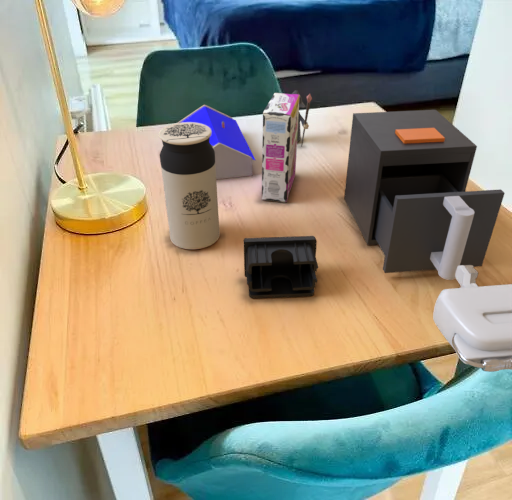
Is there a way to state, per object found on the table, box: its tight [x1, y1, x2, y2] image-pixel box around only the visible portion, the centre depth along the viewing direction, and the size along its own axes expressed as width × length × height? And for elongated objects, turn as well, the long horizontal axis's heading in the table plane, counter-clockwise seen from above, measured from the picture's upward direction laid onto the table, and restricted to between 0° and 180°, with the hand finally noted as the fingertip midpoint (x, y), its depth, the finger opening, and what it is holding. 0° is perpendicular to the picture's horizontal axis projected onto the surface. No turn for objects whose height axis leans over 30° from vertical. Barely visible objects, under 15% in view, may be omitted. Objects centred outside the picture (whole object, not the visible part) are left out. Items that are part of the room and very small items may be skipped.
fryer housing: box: [343, 109, 478, 246], centre depth 82 cm, size 15×14×17 cm
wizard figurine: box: [291, 89, 313, 147], centre depth 110 cm, size 8×6×12 cm
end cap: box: [243, 235, 319, 299], centre depth 70 cm, size 10×7×7 cm
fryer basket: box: [373, 174, 505, 281], centre depth 73 cm, size 20×14×12 cm
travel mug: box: [158, 122, 221, 250], centre depth 77 cm, size 8×8×18 cm
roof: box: [177, 104, 256, 180], centre depth 105 cm, size 22×14×7 cm, turn 12°
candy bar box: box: [261, 92, 301, 203], centre depth 91 cm, size 11×5×16 cm, turn 168°
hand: (504, 266), depth 55 cm, fingers open, 8 cm apart
